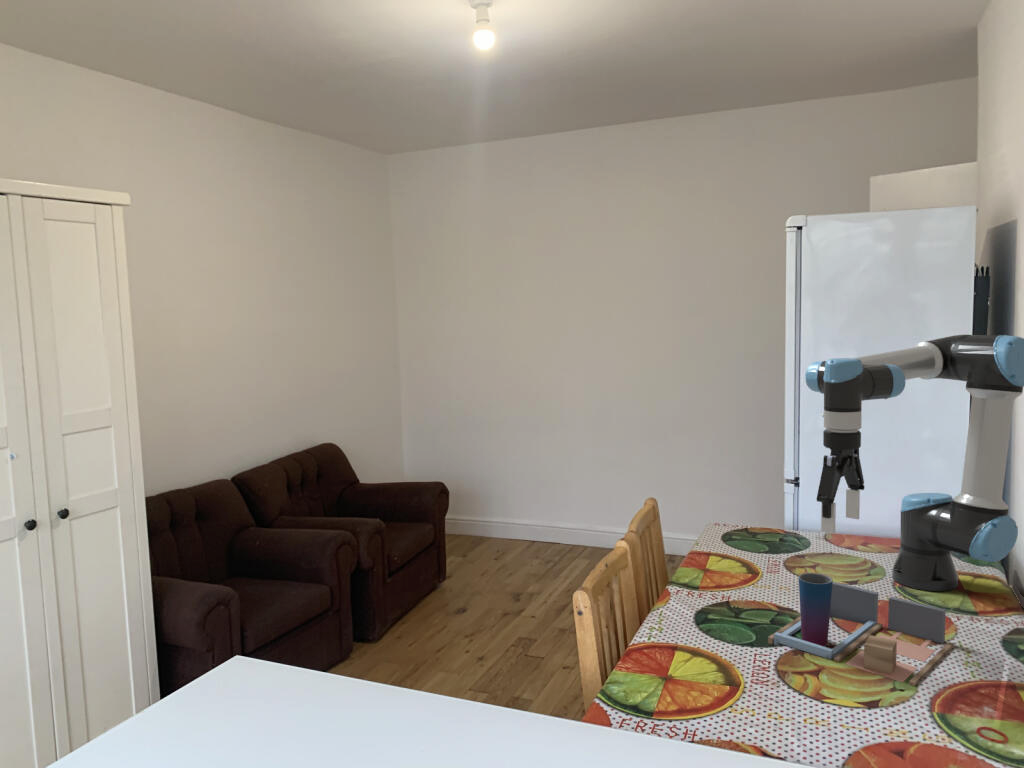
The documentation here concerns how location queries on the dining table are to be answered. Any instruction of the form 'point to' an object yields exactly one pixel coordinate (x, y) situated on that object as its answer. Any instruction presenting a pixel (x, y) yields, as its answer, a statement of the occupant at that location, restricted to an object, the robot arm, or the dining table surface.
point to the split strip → (912, 622)
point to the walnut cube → (880, 654)
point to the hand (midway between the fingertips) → (840, 525)
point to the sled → (843, 606)
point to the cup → (815, 607)
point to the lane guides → (865, 637)
